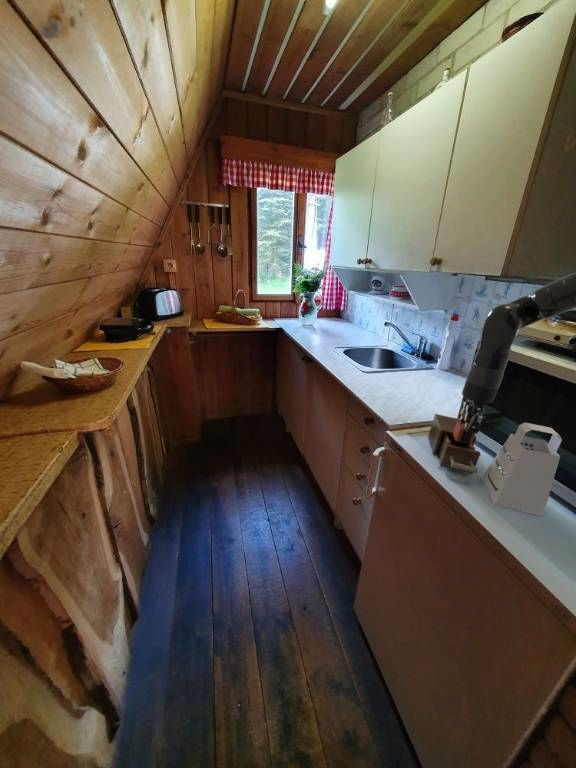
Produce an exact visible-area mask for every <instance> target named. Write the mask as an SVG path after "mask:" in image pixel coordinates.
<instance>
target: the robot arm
mask: <svg viewBox="0 0 576 768" xmlns="http://www.w3.org/2000/svg"><path fill="white" fill-rule="evenodd" d="M574 309H576V271H575V272H573V273H570V274H568V275H566V276H563V277H562V278H561V277H560V278H559V279H556V280H554V281H552V282H550V283H548V284H546V285H545V284H544V286H541V287H539V288H537V289H536V290H534V291H533V292H532V293H530V294H527V295H524V296H522V297H520V298H518V299H515V300H512V301H511V302H507V303H503V304H498V305H497V306H494V307H493V308H492V309H491V310H490V311H489V312H488V314H487V316H486V318H485V321H484V323H483V328H482V332H481V338H480V343H479V346H478V349H477V350H476V354H475V356H474V359H473V362H472V365H471V366H470V369H469V370H468V374H467V377H466V379H465V382H464V385H463V388H462V392H461V395H462V400H461V404H460V408H459V413H458V419H459V421H460V423H464V424H465V427H464V430H463V433H462V436H461V439H460V441H461V442H462V443H466V444H469V442H470V440H471V437H472V435H473V433H476V434H479V432H480V430H481V428H482V427H483V425H484V423H485V422H486V420H487V416H486V415H483V414H484V412H485V405H490V404H493V403H494V402H495V399H496V396H497V394H498V391H499V389H500V386H501V384H502V381H503V379H504V374H505V370H506V367H507V365H508V363H509V360H510V357H511V353H512V345H513V342H514V340H515V337H516V335H517V333H518V331H519V330H520V329H523V328H525V327H528V326H530V325H532V324H535V323H537V322H539V321H541V320H544V319H547V318H551V317H555V316H558V315H561V314H564V313H566V312H569V311H571V310H574ZM472 427H473V428H472ZM476 434H475V435H476Z"/></svg>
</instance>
